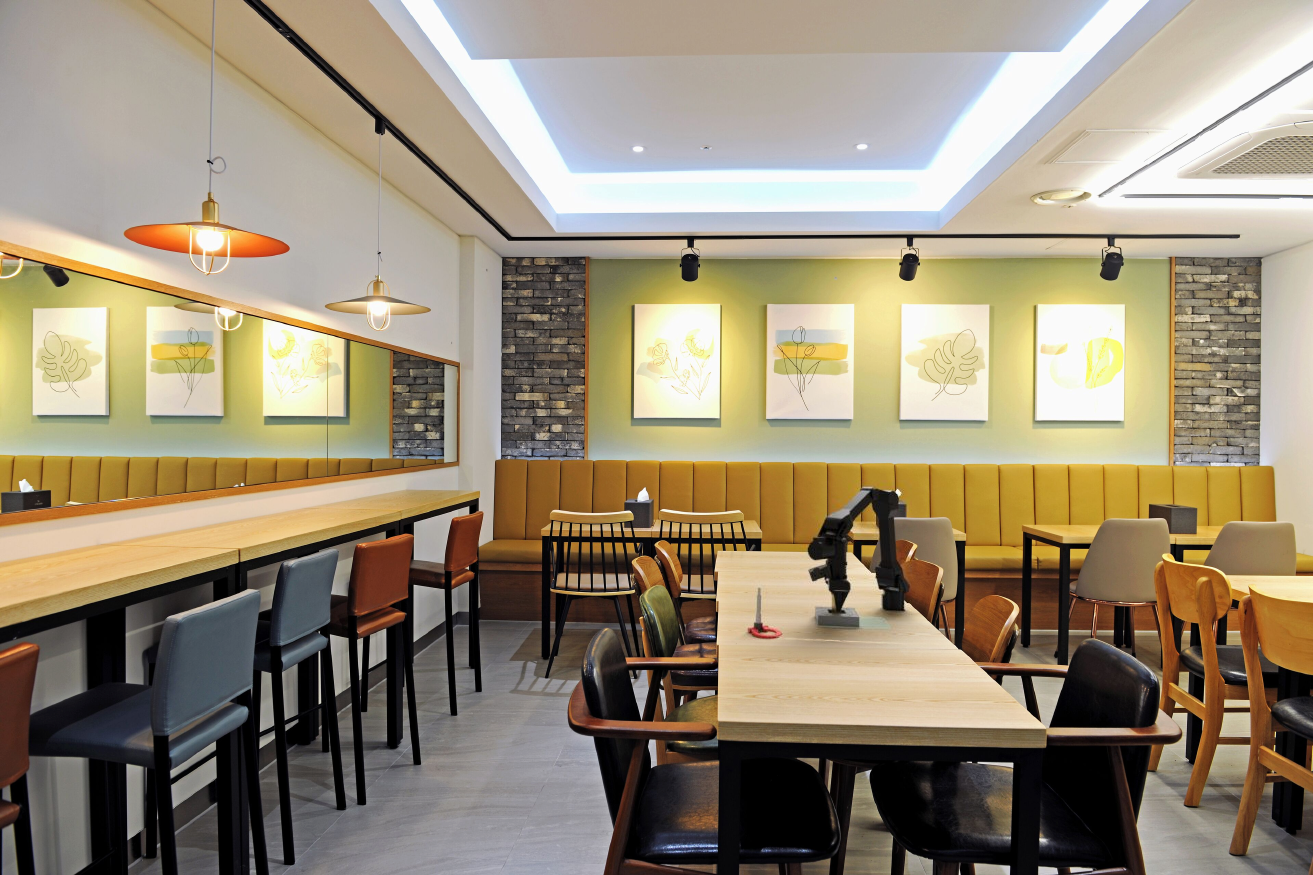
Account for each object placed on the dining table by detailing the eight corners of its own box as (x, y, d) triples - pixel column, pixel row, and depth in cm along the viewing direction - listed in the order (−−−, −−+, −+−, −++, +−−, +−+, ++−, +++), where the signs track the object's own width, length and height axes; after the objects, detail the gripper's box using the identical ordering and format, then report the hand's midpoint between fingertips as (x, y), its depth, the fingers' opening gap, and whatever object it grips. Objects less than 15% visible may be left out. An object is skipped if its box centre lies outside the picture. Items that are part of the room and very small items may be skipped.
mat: (883, 618, 229) (883, 617, 229) (891, 630, 214) (891, 629, 214) (814, 616, 232) (814, 614, 232) (818, 627, 217) (818, 626, 217)
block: (854, 617, 229) (854, 607, 229) (859, 626, 217) (859, 616, 217) (815, 615, 231) (815, 606, 231) (818, 625, 219) (818, 615, 219)
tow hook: (787, 638, 208) (768, 628, 216) (789, 593, 207) (769, 585, 215) (763, 641, 204) (744, 632, 212) (764, 596, 203) (745, 588, 212)
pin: (841, 620, 225) (841, 587, 225) (842, 622, 222) (842, 589, 222) (831, 619, 225) (831, 587, 225) (832, 622, 222) (832, 589, 223)
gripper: (808, 551, 234) (807, 600, 234) (812, 561, 216) (811, 614, 216) (843, 552, 233) (843, 601, 233) (850, 562, 214) (850, 615, 214)
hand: (836, 608), depth 224 cm, fingers open, 9 cm apart
